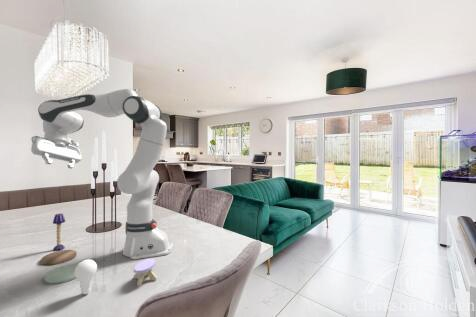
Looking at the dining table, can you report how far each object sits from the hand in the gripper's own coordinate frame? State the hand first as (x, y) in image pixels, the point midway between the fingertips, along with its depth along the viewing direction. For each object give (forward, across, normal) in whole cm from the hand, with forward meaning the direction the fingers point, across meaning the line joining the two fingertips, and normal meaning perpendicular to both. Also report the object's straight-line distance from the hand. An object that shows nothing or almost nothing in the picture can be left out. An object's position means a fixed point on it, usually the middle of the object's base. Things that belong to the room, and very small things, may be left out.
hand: (60, 165), depth 102 cm
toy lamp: (+30, +12, +24) cm, 40 cm away
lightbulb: (+59, -7, -12) cm, 60 cm away
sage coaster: (+48, -2, +3) cm, 48 cm away
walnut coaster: (+37, +6, +16) cm, 41 cm away
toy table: (+62, +7, -23) cm, 67 cm away
